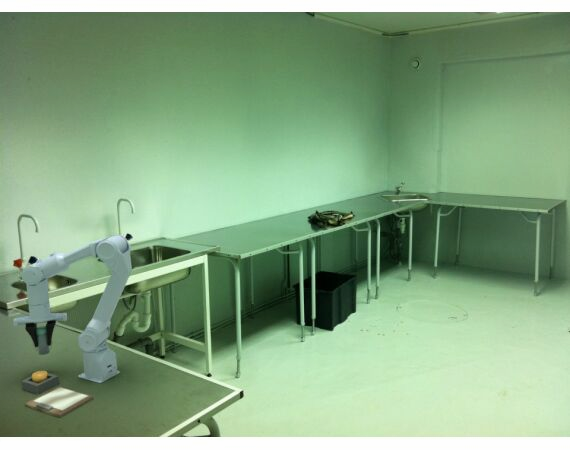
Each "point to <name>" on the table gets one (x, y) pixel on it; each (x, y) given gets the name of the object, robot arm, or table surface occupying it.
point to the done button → (39, 376)
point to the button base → (40, 384)
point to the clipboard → (59, 401)
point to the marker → (42, 340)
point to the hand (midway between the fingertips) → (43, 345)
